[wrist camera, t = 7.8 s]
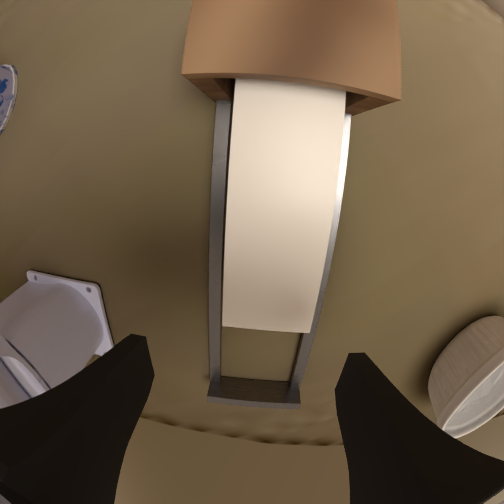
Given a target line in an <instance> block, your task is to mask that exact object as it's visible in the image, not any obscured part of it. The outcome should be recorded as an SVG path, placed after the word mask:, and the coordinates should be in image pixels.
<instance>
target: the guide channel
mask: <svg viewBox="0 0 504 504" xmlns="http://www.w3.org/2000/svg"><path fill="white" fill-rule="evenodd" d="M232 107H233V102H232V101H230V100H217V105H216V117H215V131H214V145H213V162H212V181H211V204H210V236H209V350H210V386H209V390H208V394H207V402H214V403H222V404H230V405H239V406H250V407H262V408H280V409H299V407H300V404H301V403H300V391H299V388H300V385H301V382H302V378H303V375H304V372H305V368H306V365H307V361H308V358H309V354H310V350H311V347H312V343H313V339H314V335H315V332H316V328H317V324H318V320H319V315H320V311H321V307H322V303H323V298H324V294H325V290H326V285H327V280H328V276H329V271H330V266H331V261H332V256H333V250H334V245H335V239H336V234H337V228H338V222H339V216H340V209H341V203H342V196H343V189H344V181H345V173H346V165H347V156H348V147H349V136H350V125H351V114H347V113H345V115H344V127H343V139H342V149H341V158H340V167H339V176H338V184H337V191H336V198H335V205H334V212H333V219H332V225H331V231H330V237H329V243H328V248H327V254H326V259H325V265H324V270H323V275H322V280H321V285H320V290H319V294H318V299H317V303H316V308H315V312H314V317H313V321H312V325H311V329H310V333H302V334H301V338H300V342H299V347H298V351H297V355H296V359H295V363H294V367H293V371H292V375H291V379H290V382H281V381H265V380H253V379H242V378H233V377H224V376H221V333H222V289H223V259H224V234H225V213H226V194H227V177H228V161H229V146H230V132H231V119H232Z"/></svg>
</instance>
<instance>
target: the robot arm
mask: <svg viewBox="0 0 504 504" xmlns="http://www.w3.org/2000/svg"><path fill="white" fill-rule="evenodd" d="M27 278H28V282H27V283H25V284H24V285H23V286H21V287H20V288H19V289H17V290H16V291H15V292H14V293H12V294H11V295H10V296H8V297H7V298H6V299H5V300H3V301H2V302H1V303H0V504H114V501H115V495H116V489H117V483H118V479H119V474H120V469H121V466H122V462H123V458H124V454H125V451H126V448H127V445H128V442H129V440H130V438H131V435H132V433H133V431H134V428H135V426H136V424H137V422H138V419H139V417H140V415H141V413H142V410H143V408H144V406H145V403H146V401H147V399H148V396H149V393H150V389H151V386H152V382H153V379H154V375H155V374H154V370H153V366H152V362H151V358H150V354H149V349H148V345H147V340H146V336H140V335H135V334H130V335H129V336H127V337H126V338H124V339H123V340H122V341H121V342H119V343H118V344H117V345H115V346H114V345H113V341H112V338H111V334H110V330H109V326H108V322H107V318H106V314H105V310H104V305H103V301H102V296H101V291H100V288H99V286H98V285H97V284H95V283H90V282H84V281H79V280H74V279H69V278H64V277H59V276H55V275H50V274H45V273H41V272H36V271H32V270H29V271H28V272H27ZM89 288H90V289H91V290H90V289H89ZM93 354H97V355H100V356H101V357H99V358H98V359H97V360H95V361H94V362H93V363H91V364H90V365H89V366H87V367H86V368H84V367H85V366H86V364H87V363H88V361H89V360H90V358H91V357H92V356H93ZM83 368H84V369H83ZM335 398H336V409H337V416H338V420H339V425H340V430H341V434H342V439H343V443H344V448H345V452H346V457H347V462H348V469H349V481H350V504H483V503H484V502H486V501H487V500H489V499H490V498H492V497H493V496H495V495H496V494H498V493H499V492H500V491H502V490H503V489H504V461H502V460H499V459H496V458H493V457H491V456H488V455H486V454H483V453H481V452H479V451H477V450H475V449H473V448H471V447H469V446H467V445H465V444H463V443H462V442H460V441H458V440H457V439H455V438H454V437H452V436H451V435H449V434H447V433H446V432H445V431H443V430H442V429H440V428H439V427H438V426H437V425H435V424H434V423H433V422H432V421H430V420H429V419H428V418H427V417H425V416H424V415H423V414H422V413H421V412H420V411H419V410H418V409H417V408H416V407H415V406H413V405H412V404H411V403H410V402H409V401H408V400H407V399H406V398H405V397H404V396H403V395H402V394H401V393H400V391H399V390H398V389H397V388H396V387H395V386H394V385H393V384H392V383H391V382H390V381H389V380H388V378H387V377H386V376H385V375H384V374H383V373H382V372H381V371H380V369H379V368H378V367H377V366H376V365H375V364H374V363H373V361H372V360H371V359H370V358H369V357H368V356H367V355H366V354H365V353H349V354H348V357H347V360H346V362H345V365H344V368H343V370H342V373H341V375H340V378H339V381H338V383H337V386H336V388H335ZM499 504H504V501H502V502H501V503H499Z"/></svg>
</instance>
